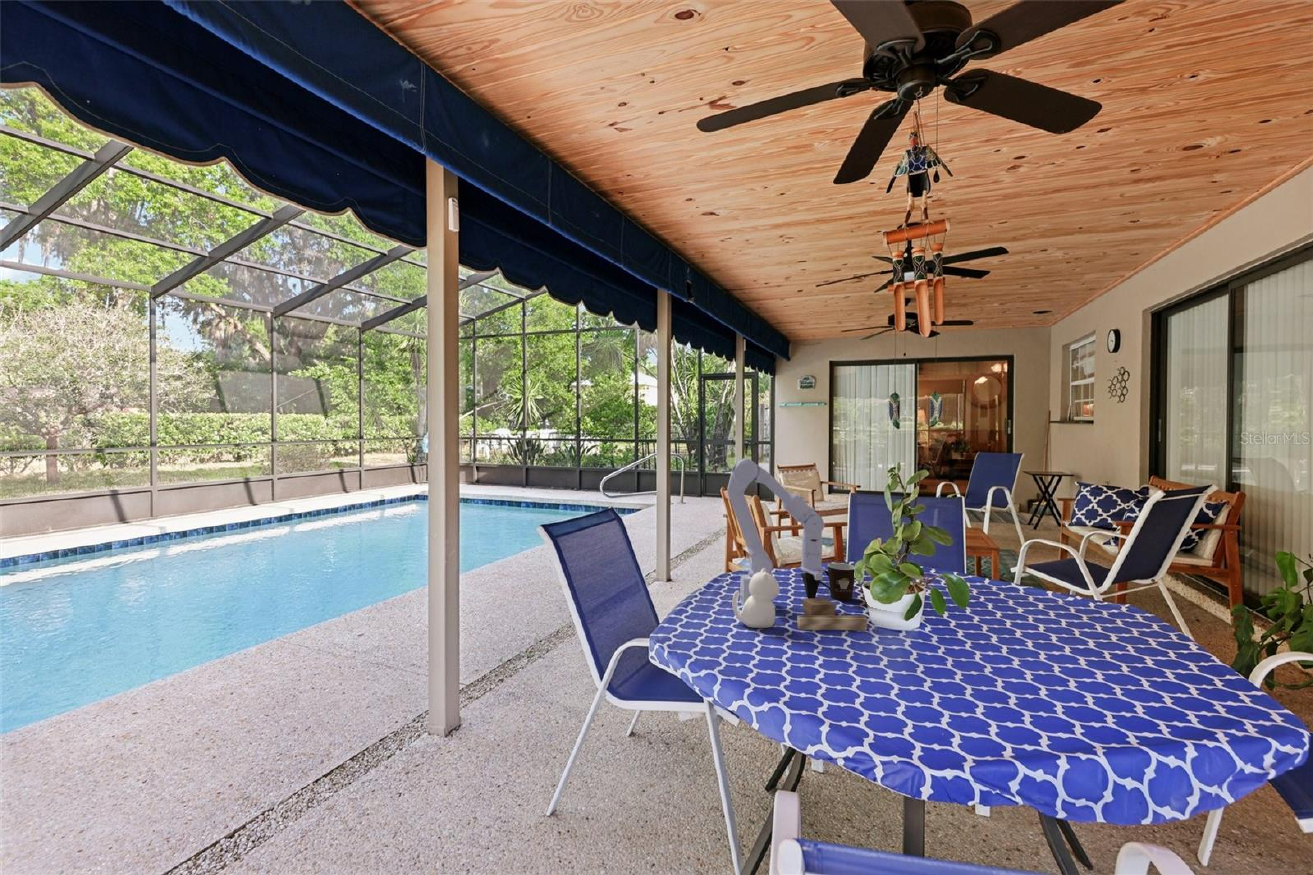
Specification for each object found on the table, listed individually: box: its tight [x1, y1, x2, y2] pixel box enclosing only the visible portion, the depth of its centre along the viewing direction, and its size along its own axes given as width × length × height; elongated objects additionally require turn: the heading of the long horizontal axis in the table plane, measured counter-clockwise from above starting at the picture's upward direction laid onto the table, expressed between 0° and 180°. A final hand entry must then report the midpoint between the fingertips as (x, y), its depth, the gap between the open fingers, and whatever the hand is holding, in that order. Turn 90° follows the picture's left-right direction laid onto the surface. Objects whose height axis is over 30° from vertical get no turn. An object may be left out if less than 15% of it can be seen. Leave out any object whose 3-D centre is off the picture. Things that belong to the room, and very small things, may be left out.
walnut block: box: [802, 597, 836, 616], centre depth 168 cm, size 7×6×4 cm
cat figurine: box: [731, 568, 781, 629], centre depth 158 cm, size 9×12×15 cm
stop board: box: [796, 614, 868, 631], centre depth 156 cm, size 18×2×3 cm, turn 92°
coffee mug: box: [820, 562, 856, 602], centre depth 185 cm, size 12×9×10 cm
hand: (811, 598), depth 175 cm, fingers closed
